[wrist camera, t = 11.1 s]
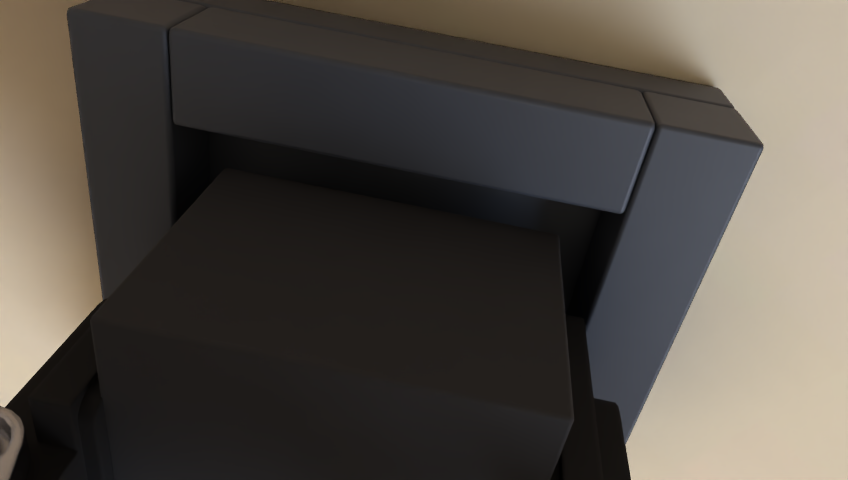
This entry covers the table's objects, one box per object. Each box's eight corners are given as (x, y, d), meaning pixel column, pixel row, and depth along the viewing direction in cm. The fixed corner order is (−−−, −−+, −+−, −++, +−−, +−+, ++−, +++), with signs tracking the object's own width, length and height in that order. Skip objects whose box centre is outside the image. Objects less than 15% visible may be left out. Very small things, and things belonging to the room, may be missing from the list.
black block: (225, 405, 14) (127, 592, 10) (224, 165, 11) (86, 317, 7) (488, 460, 14) (476, 669, 10) (560, 233, 11) (576, 419, 7)
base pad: (173, 390, 17) (122, 469, 15) (148, -25, 12) (62, 7, 9) (564, 473, 17) (570, 566, 14) (721, 87, 11) (767, 145, 9)
